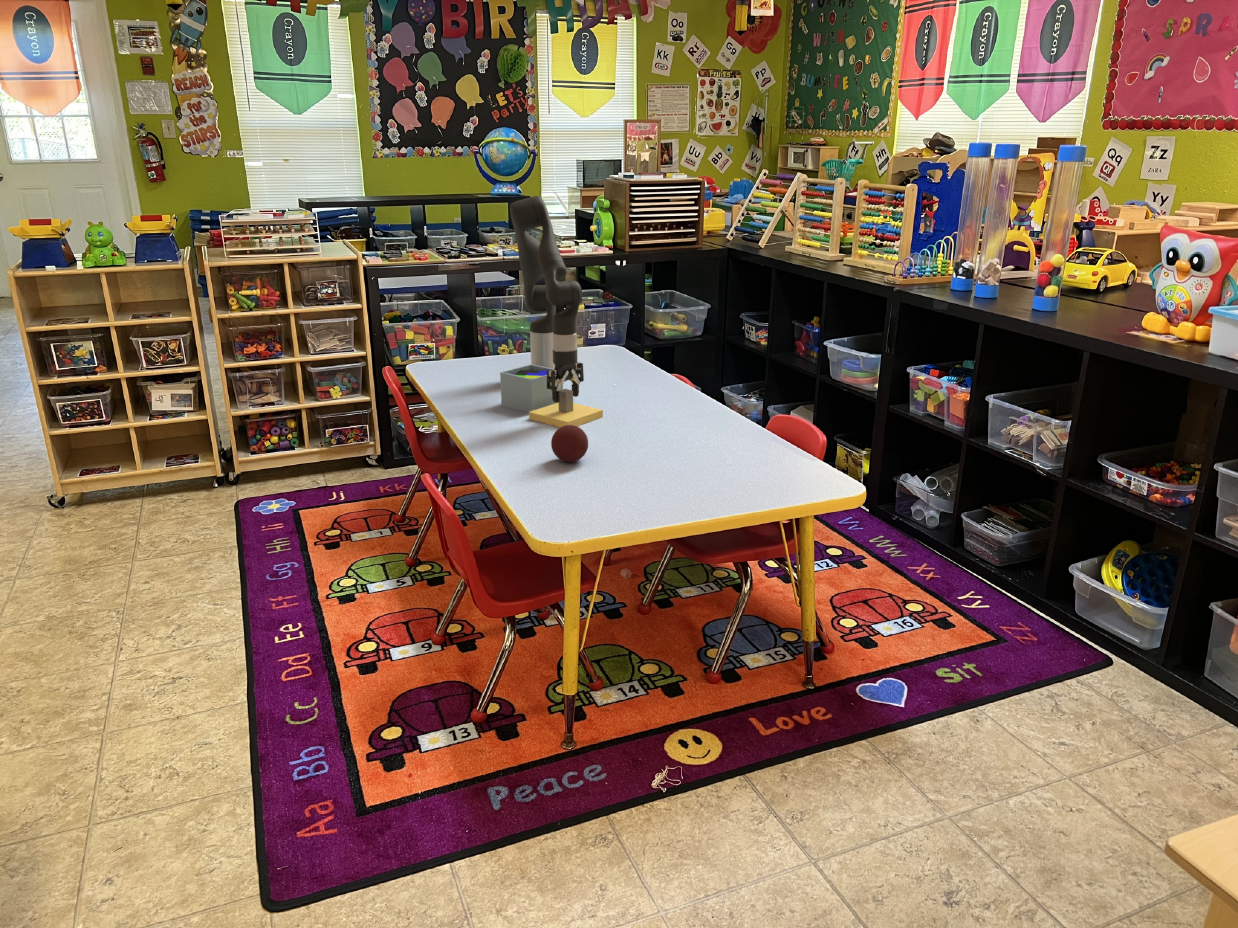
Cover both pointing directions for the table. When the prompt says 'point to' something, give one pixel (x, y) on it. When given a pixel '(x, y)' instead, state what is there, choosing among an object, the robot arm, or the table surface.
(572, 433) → the decorative ball
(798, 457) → the table surface
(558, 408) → the lid
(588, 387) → the table surface
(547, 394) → the box
